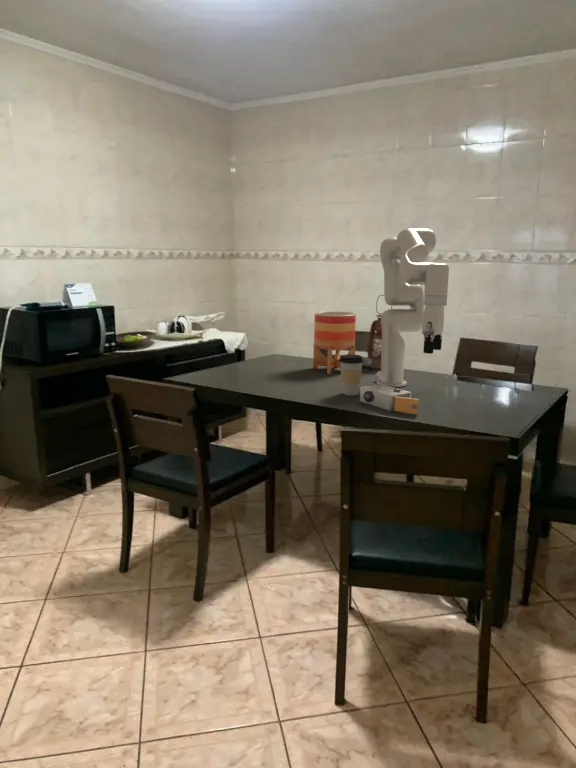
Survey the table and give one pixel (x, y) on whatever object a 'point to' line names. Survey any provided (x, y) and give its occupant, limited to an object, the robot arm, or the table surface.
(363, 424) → the table surface
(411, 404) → the side door
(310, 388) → the table surface
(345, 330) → the planter
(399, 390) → the camera case
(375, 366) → the lantern
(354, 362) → the coffee cup
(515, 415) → the table surface
